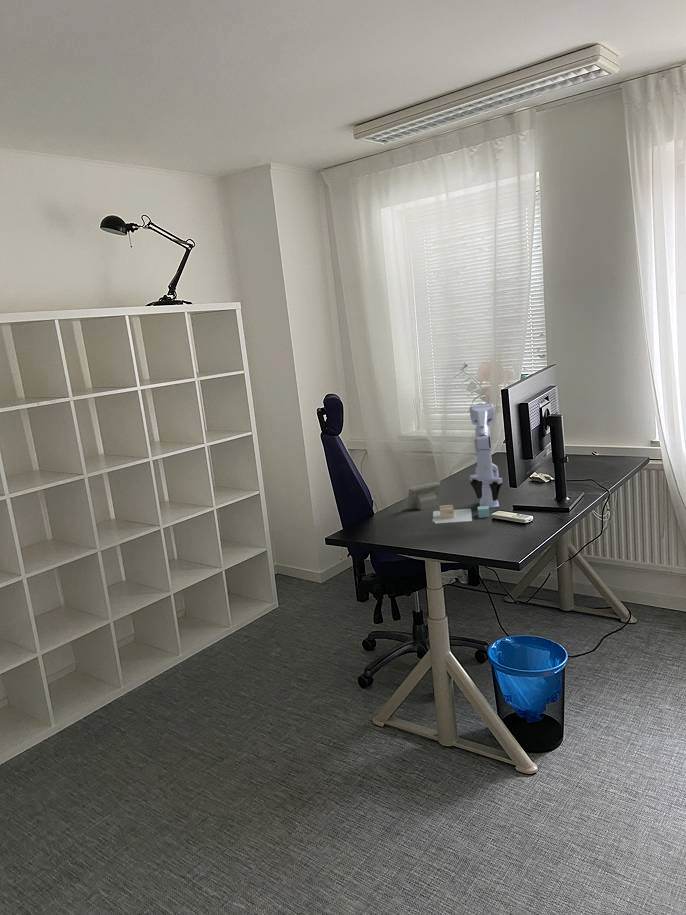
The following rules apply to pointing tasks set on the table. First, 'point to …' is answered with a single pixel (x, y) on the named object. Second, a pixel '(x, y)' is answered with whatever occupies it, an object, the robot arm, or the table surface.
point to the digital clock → (424, 496)
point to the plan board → (459, 516)
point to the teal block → (483, 511)
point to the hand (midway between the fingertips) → (487, 499)
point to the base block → (446, 511)
